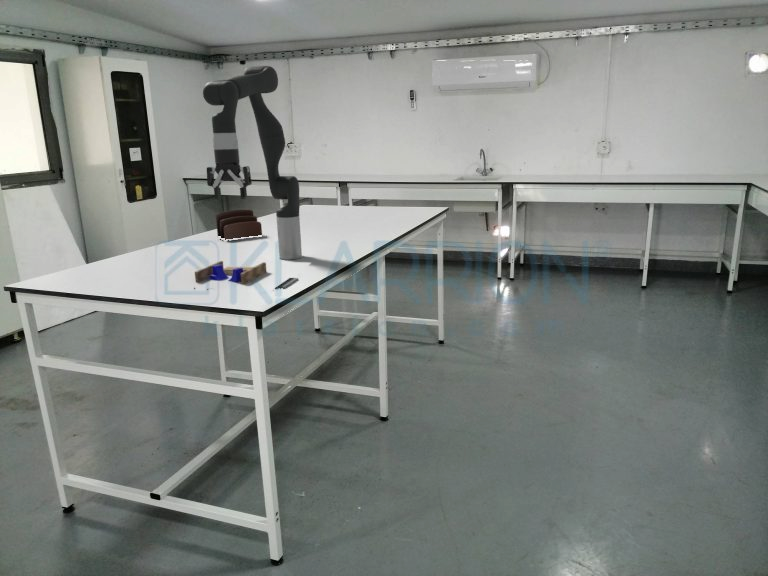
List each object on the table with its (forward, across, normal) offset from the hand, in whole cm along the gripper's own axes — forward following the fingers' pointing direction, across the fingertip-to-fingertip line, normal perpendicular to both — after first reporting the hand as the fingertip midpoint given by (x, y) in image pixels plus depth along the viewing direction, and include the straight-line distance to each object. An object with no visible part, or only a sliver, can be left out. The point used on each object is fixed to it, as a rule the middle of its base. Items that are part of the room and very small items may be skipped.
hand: (231, 199), depth 180 cm
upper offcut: (+28, +4, -11) cm, 30 cm away
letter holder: (+29, +41, -89) cm, 102 cm away
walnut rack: (+29, +5, -5) cm, 30 cm away
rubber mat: (+29, -12, -3) cm, 32 cm away
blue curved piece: (+29, +5, -1) cm, 30 cm away
